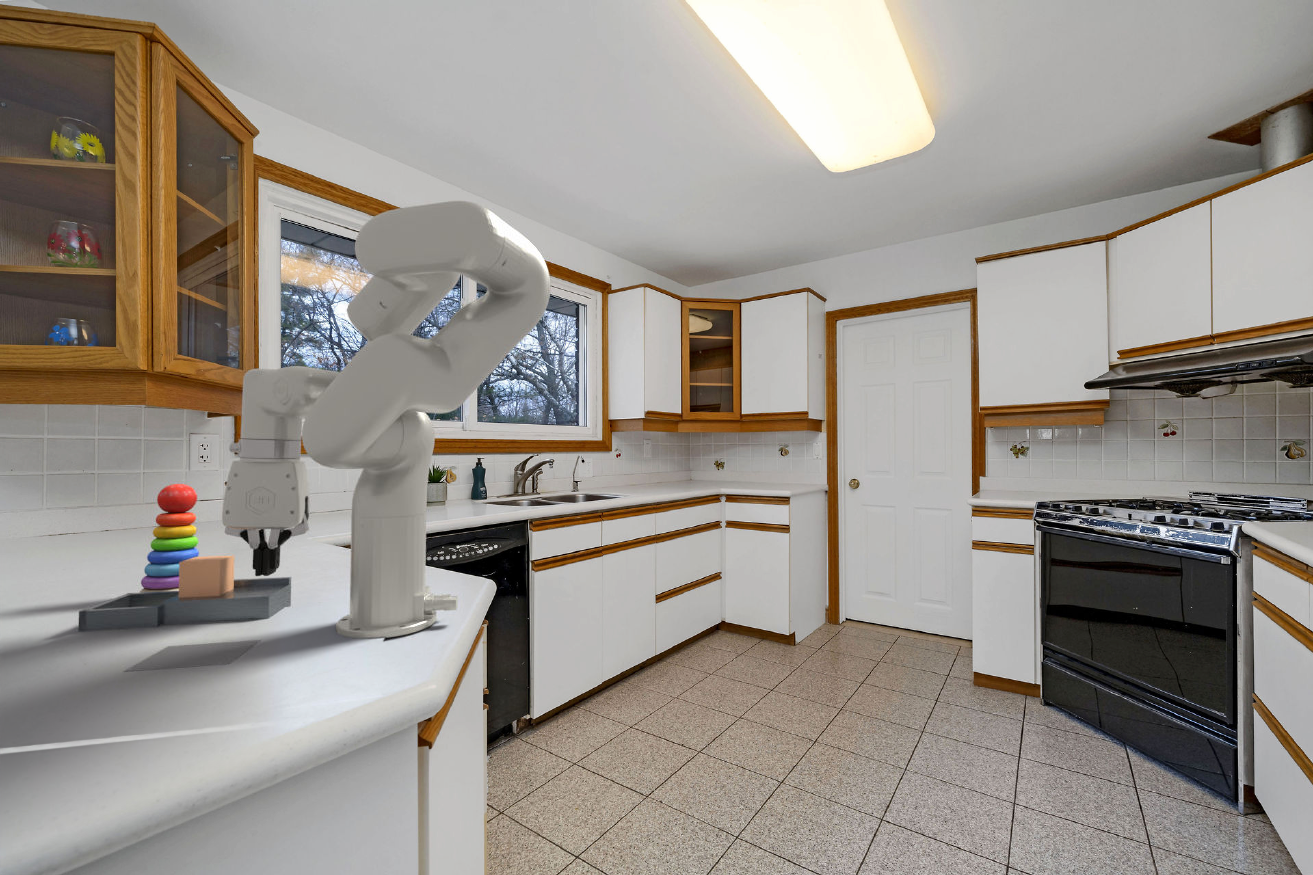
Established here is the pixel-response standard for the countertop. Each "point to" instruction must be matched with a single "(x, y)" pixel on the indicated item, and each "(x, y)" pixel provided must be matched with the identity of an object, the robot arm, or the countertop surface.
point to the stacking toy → (171, 539)
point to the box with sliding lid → (189, 606)
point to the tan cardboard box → (206, 576)
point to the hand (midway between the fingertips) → (265, 573)
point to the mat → (194, 655)
